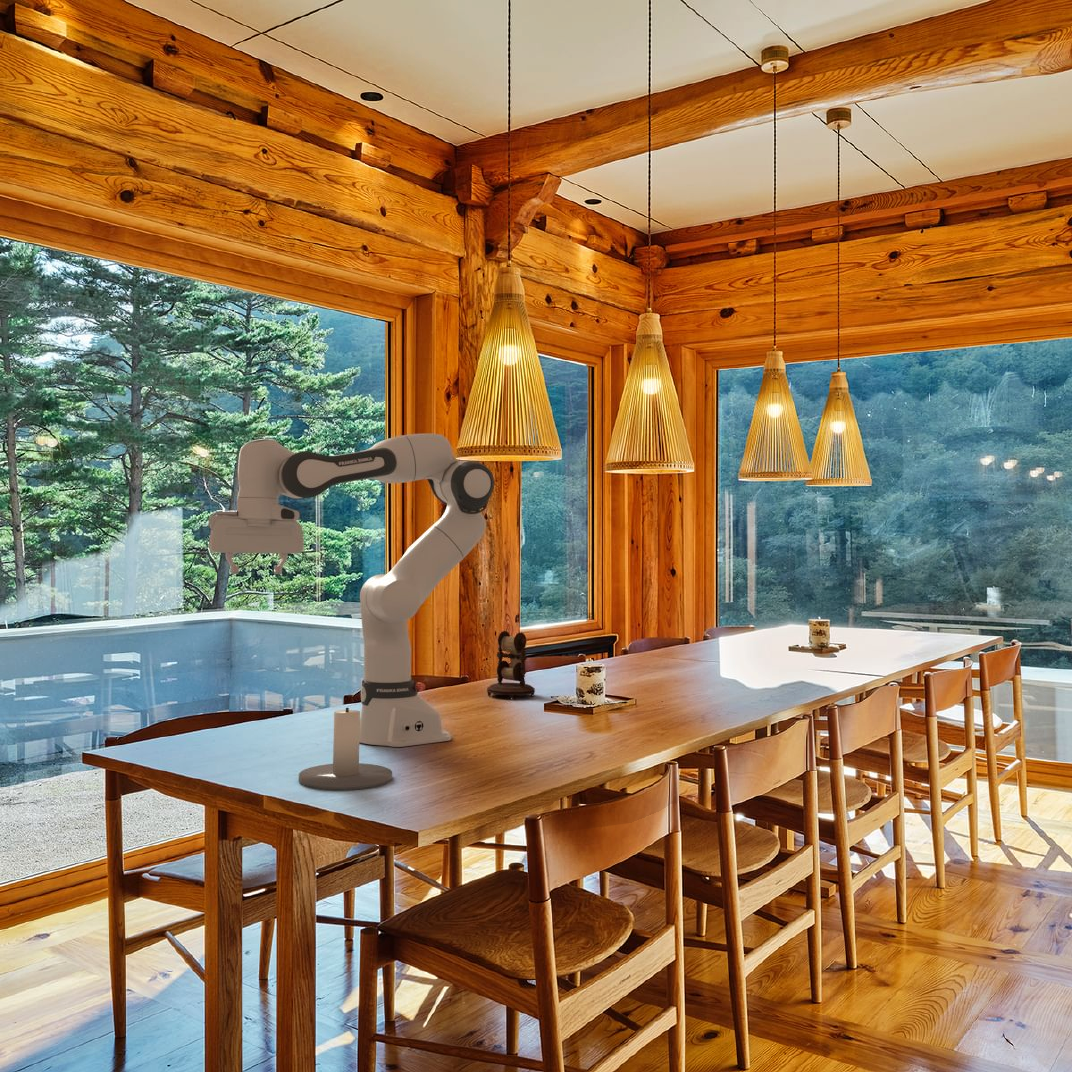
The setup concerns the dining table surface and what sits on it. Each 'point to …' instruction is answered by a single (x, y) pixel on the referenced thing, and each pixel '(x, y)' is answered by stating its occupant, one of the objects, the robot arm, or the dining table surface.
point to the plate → (345, 778)
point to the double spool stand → (517, 666)
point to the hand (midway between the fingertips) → (256, 573)
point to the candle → (346, 742)
